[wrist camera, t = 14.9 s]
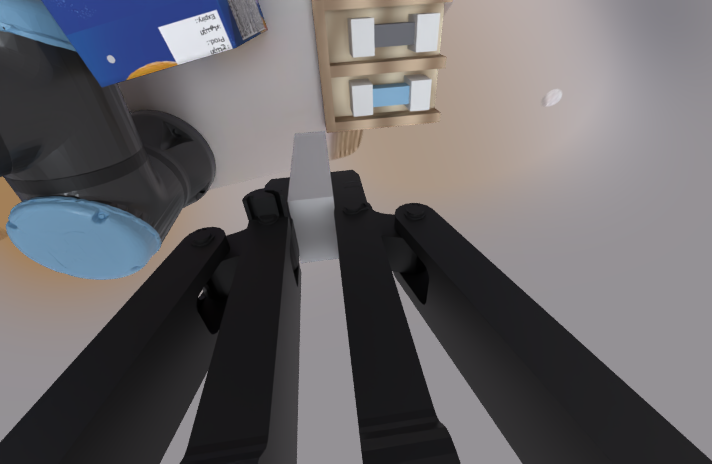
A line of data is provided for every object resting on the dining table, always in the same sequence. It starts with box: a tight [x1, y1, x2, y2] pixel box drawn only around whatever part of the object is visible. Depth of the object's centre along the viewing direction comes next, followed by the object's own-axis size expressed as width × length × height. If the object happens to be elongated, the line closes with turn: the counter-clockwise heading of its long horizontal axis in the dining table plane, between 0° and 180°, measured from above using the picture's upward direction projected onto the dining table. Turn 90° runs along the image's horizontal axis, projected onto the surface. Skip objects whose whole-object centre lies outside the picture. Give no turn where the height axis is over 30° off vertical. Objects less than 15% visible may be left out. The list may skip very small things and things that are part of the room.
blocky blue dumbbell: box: [349, 74, 432, 117], centre depth 44 cm, size 11×4×4 cm, turn 93°
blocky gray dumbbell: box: [347, 12, 440, 58], centre depth 40 cm, size 11×4×4 cm, turn 93°
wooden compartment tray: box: [312, 0, 453, 133], centre depth 43 cm, size 17×16×4 cm
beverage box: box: [41, 0, 268, 87], centre depth 30 cm, size 7×11×22 cm, turn 103°
